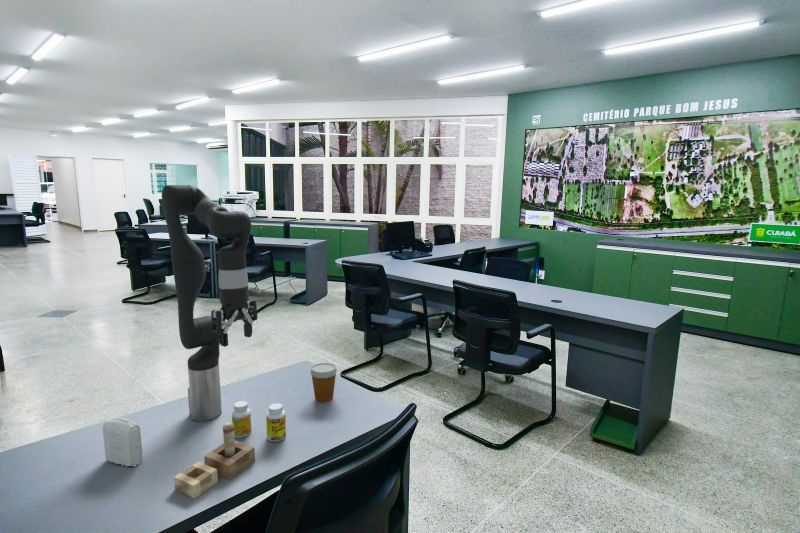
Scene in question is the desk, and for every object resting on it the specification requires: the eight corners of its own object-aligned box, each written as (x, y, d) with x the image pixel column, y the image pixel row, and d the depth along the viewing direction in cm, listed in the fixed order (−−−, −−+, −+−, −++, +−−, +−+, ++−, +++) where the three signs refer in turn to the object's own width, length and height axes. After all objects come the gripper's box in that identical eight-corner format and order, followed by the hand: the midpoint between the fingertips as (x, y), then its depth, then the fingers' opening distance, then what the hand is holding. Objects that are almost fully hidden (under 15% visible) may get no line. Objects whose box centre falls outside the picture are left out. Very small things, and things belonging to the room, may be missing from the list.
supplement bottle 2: (270, 444, 128) (269, 412, 126) (264, 436, 133) (263, 404, 131) (288, 439, 131) (287, 407, 130) (282, 430, 136) (281, 400, 134)
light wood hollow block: (175, 489, 109) (174, 476, 108) (198, 473, 115) (197, 461, 114) (194, 498, 106) (193, 485, 105) (217, 481, 112) (217, 469, 111)
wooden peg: (222, 466, 118) (220, 425, 116) (230, 461, 120) (228, 421, 118) (230, 469, 117) (227, 428, 115) (238, 463, 119) (235, 423, 117)
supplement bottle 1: (231, 438, 131) (229, 408, 129) (235, 429, 136) (233, 400, 135) (249, 437, 132) (248, 407, 130) (252, 428, 137) (251, 399, 136)
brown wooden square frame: (205, 469, 117) (204, 455, 116) (231, 451, 125) (230, 438, 124) (229, 479, 113) (228, 465, 112) (255, 460, 121) (254, 447, 120)
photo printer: (145, 460, 120) (142, 418, 118) (132, 469, 116) (127, 426, 114) (117, 453, 123) (113, 412, 121) (103, 461, 119) (98, 420, 117)
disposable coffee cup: (335, 405, 152) (334, 373, 150) (308, 405, 152) (307, 372, 150) (339, 393, 161) (339, 362, 159) (313, 392, 162) (313, 361, 160)
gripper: (243, 278, 127) (245, 332, 130) (202, 288, 115) (205, 346, 117) (262, 281, 124) (264, 336, 127) (222, 291, 111) (226, 351, 114)
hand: (236, 341), depth 122 cm, fingers open, 8 cm apart
